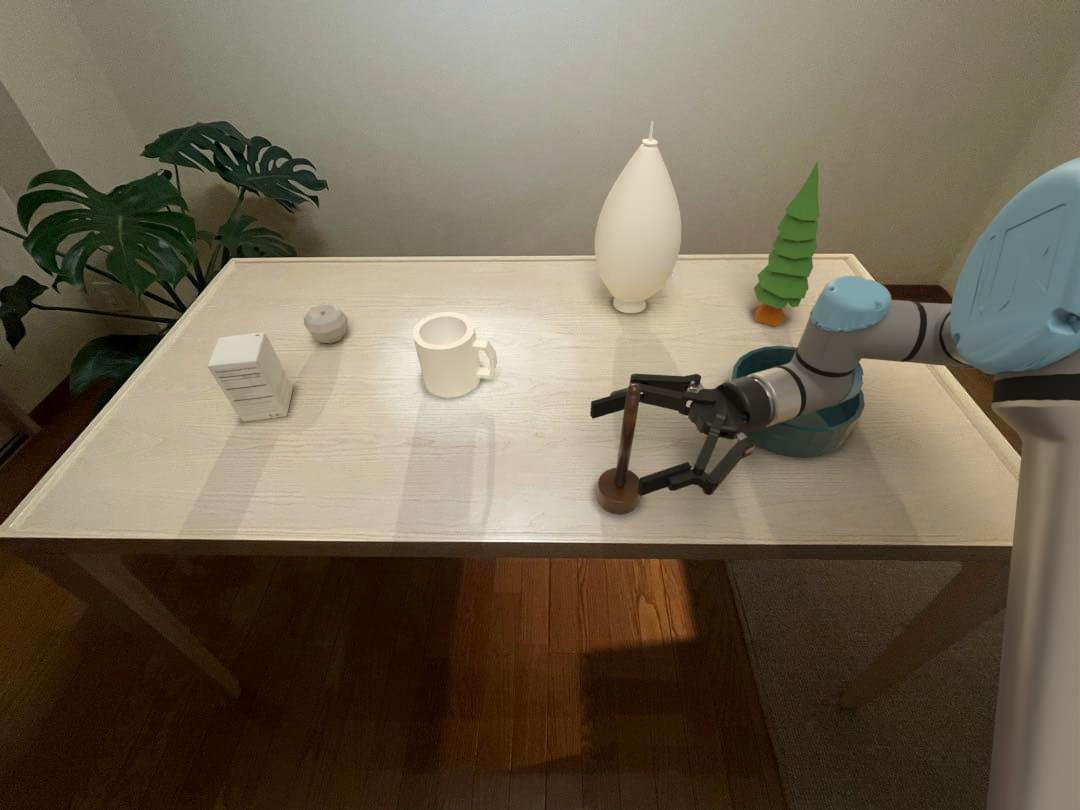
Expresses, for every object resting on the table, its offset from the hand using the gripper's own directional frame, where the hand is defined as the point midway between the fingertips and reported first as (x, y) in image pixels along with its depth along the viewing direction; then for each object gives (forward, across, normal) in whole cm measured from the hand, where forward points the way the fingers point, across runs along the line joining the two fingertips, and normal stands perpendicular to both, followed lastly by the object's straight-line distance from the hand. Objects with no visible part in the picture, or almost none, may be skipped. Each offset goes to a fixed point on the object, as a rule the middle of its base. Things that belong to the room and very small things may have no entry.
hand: (613, 446), depth 66 cm
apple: (+34, +54, -12) cm, 65 cm away
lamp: (-26, +42, -12) cm, 51 cm away
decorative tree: (-50, +27, -12) cm, 58 cm away
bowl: (-35, +5, -12) cm, 37 cm away
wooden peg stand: (-2, 0, -12) cm, 12 cm away
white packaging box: (+46, +39, -12) cm, 61 cm away
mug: (+14, +33, -12) cm, 38 cm away
